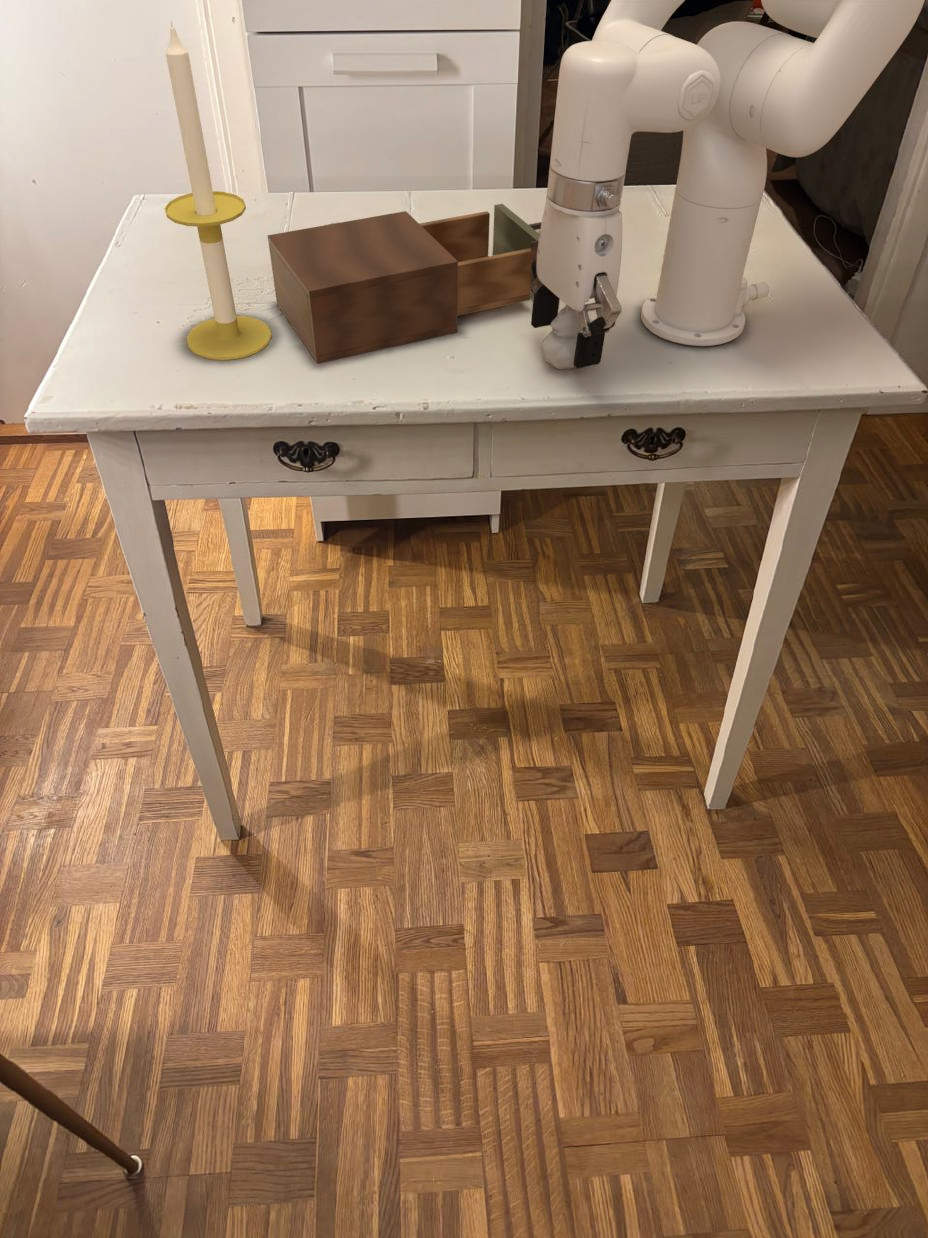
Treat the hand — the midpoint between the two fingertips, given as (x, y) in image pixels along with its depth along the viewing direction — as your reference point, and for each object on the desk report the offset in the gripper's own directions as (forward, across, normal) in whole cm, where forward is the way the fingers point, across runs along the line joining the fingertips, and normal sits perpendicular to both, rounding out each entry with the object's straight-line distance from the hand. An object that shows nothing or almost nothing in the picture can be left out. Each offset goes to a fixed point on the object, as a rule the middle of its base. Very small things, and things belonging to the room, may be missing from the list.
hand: (564, 344), depth 105 cm
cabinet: (+3, +20, +17) cm, 26 cm away
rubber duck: (+3, 0, -1) cm, 3 cm away
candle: (+4, +22, +33) cm, 40 cm away
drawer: (+2, +20, 0) cm, 20 cm away
